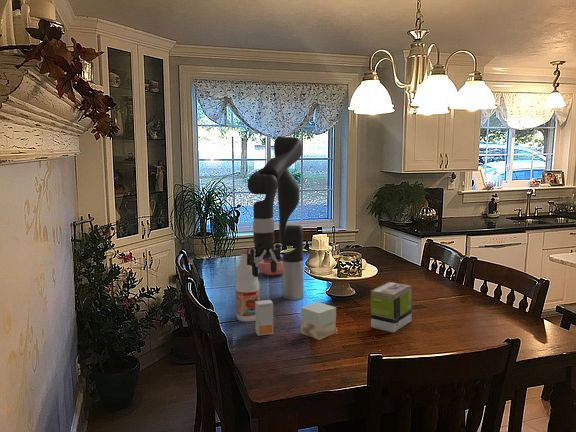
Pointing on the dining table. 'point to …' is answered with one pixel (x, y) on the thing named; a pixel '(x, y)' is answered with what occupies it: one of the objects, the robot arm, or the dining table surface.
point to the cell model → (266, 266)
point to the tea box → (391, 306)
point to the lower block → (318, 330)
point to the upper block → (318, 314)
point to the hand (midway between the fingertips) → (264, 274)
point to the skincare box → (264, 317)
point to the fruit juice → (246, 290)
